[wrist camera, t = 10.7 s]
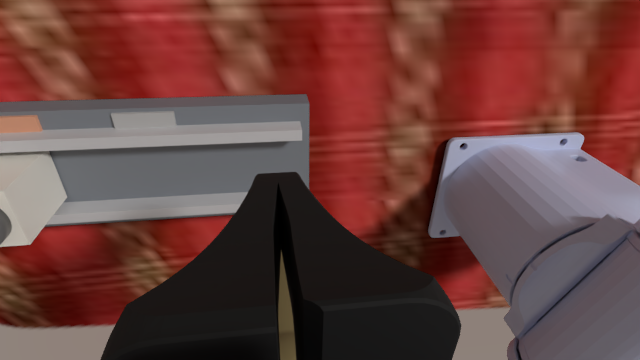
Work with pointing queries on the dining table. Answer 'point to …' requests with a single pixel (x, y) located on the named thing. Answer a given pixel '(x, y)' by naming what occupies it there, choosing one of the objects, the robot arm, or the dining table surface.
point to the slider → (27, 195)
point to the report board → (159, 152)
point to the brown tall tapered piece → (285, 319)
